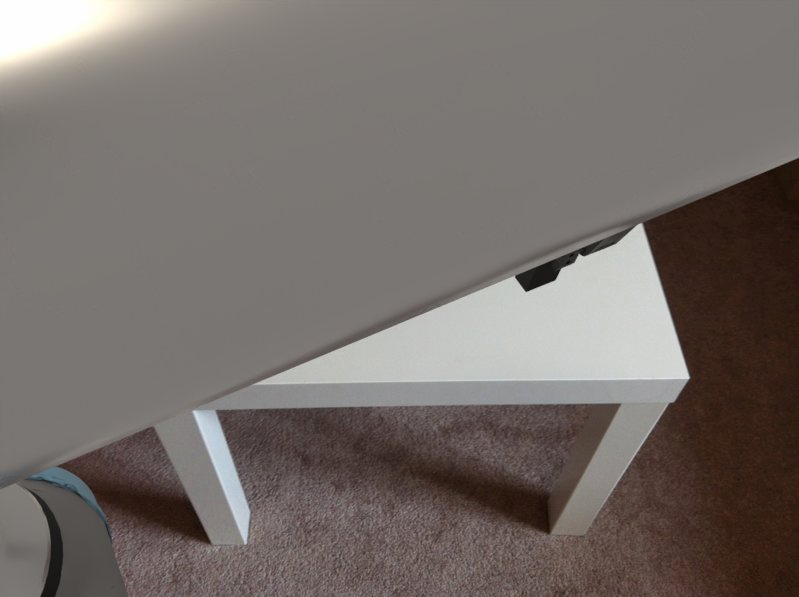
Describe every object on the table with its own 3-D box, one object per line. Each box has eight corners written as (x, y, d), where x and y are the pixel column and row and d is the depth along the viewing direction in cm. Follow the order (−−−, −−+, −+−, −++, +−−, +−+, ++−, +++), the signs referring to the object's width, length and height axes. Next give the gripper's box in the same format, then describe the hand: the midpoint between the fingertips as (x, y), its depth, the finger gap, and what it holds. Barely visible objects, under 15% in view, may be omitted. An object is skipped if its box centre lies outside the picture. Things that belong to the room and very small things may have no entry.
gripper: (824, 50, 33) (628, 329, 53) (644, -96, 39) (527, 202, 58) (705, 88, 31) (544, 368, 50) (530, -76, 37) (447, 230, 56)
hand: (535, 278), depth 54 cm, fingers closed
